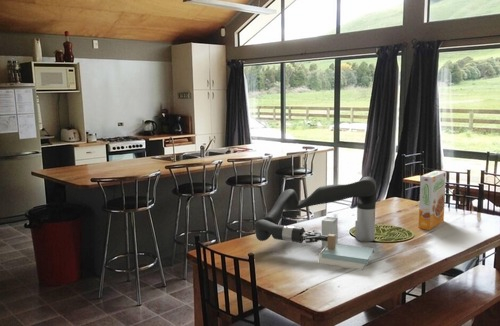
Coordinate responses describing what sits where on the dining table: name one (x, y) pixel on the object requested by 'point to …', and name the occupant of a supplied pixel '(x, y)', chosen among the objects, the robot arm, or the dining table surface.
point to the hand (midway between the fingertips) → (328, 238)
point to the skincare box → (329, 229)
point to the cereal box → (432, 199)
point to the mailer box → (339, 262)
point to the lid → (346, 252)
